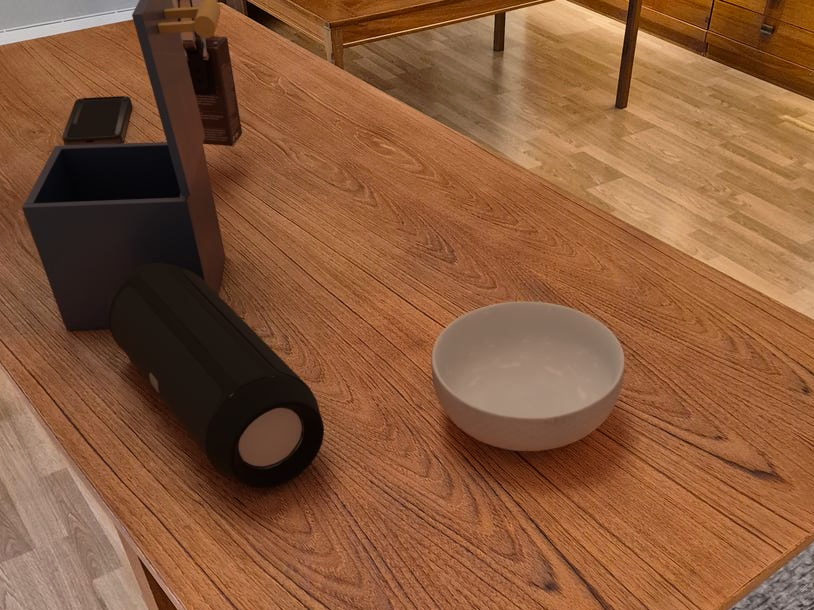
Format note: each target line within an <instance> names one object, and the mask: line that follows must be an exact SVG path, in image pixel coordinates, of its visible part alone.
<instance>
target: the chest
mask: <svg viewBox="0 0 814 610" xmlns="http://www.w3.org/2000/svg"><path fill="white" fill-rule="evenodd" d="M216 207H217V206H216V202H215V198H214V192H213V187H212V183H211V178H210V173H209V167H208V163H207V158H206V153H205V148H204V145H203V146H202V150H201V154H200V158H199V163H198V167H197V171H196V175H195V179H194V183H193V187H192V191H191V195H190V196H182V195H181V192H180V188H179V184H178V181H177V177H176V173H175V170H174V166H173V163H172V159H171V155H170V152H169V148H168V144H167V141H160V142H159V141H155V142H153V141H152V142H129V143H127V142H126V143H125V142H124V143H120V144H94V145H54V147H53V149H52V151H51V152H50V154H49V157H48V158H47V160H46V162H45V164H44V166H43V167H42V170H41V172H40V173H39V175H38V177H37V179H36V181H35V183H34V185H33V186H32V188H31V189H30V192H29V193H28V196H27V197H26V200H25V202H24V203H23V205H22V207H21V209H22V212H23V214H24V217H25V220H26V223H27V226H28V228H29V231H30V233H31V237H32V240H33V242H34V245H35V247H36V250H37V253H38V255H39V259H40V261H41V264H42V267H43V269H44V273H45V275H46V277H47V281H48V283H49V286H50V289H51V292H52V294H53V298H54V301H55V303H56V306H57V309H58V311H59V314H60V316H61V319H62V322H63V324H64V328H65V330H66V331H67V332H70V331H71V332H72V331H87V330H90V331H91V330H105V329H106V330H107V329H109V330H110V327H109V317H108V315H109V299H110V295H111V292H112V290H113V288H114V286H115V285H116V283H117V282H118V281H119V279H120V278H121V277H122V276H124V275H125V274H126V273H127V272H129V271H130V270H132V269H134V268H136V267H138V266H141V265H144V264H148V263H164V264H170V265H175V266H179V267H182V268H185V269H188V270H190V271H192V272H193V273H195V274H196V275H198V276H199V277H200V278H202V279H203V280H204V281H205V282H206V283H207V284H208V285H209V286H210V287H211V288H212V289H213V290H214V291H215V292H216V293H217V294H218V295H219V296H220V290H221V285H222V278H223V273H224V266H225V260H226V252H225V246H224V243H223V237H222V233H221V227H220V223H219V218H218V213H217V212H218V211H217V208H216Z"/></svg>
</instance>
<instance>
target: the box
mask: <svg viewBox="0 0 814 610" xmlns="http://www.w3.org/2000/svg"><path fill="white" fill-rule="evenodd" d="M206 39H207V47H208V55H209V58H212V64H213V70H214V77H215V83H216V89H217V91H216V94H214V95H195V96H196V100H197V104H198V108H199V113H200V117H201V121H202V125H203V129H204V133H205V138H204V142H203V145H210V146H225V147H234V146H236V144H237V143H238V142H239V140H240V138H241V137H242V135H243V130H242V124H241V123H242V122H241V117H240V110H239V105H238V104H239V103H238V97H237V91H236V84H235V77H234V71H233V68H232V67H233V66H232V59H231V53H230V48H229V47H230V46H229V40H228V37H227V36H215V35H214V36H212V37H210V38H206ZM196 40H199V42H200V43H201V38H200V37H196ZM201 47H202V46H201Z"/></svg>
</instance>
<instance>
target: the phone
mask: <svg viewBox="0 0 814 610" xmlns="http://www.w3.org/2000/svg"><path fill="white" fill-rule="evenodd" d="M132 108H133V103H132V99H131V97H130V96H127V95H121V96H120V95H116V96H115V95H114V96H95V97H81V98H77V99H76V100H75V101H74V104H73V106H72V109H71V112H70V114H69V117H68V119H67V121H66V122H67V123H66V125H65V127H64V130H63V132H62V136H61V138H62V141H63V146H65V145H94V144H123V142H124V141H125V136H126V133H127V130H128V129H127V128H128V125H129V121H130V118H131V114H132Z"/></svg>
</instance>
